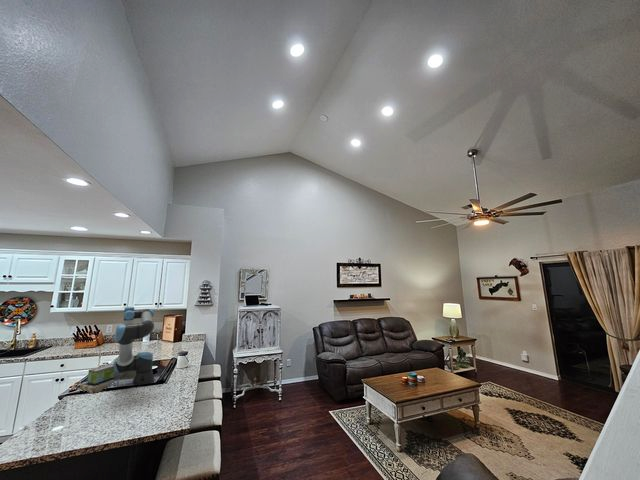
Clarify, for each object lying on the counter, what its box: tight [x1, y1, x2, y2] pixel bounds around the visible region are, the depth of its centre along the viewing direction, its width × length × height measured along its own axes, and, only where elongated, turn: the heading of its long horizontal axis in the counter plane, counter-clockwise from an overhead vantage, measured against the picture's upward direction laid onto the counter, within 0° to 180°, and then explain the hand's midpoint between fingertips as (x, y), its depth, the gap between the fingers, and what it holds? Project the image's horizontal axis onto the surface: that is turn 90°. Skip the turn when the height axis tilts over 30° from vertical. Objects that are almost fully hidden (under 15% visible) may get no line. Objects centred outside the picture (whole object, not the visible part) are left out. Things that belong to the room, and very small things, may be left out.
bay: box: [79, 382, 109, 394], centre depth 218 cm, size 18×10×4 cm, turn 67°
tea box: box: [86, 364, 116, 387], centre depth 225 cm, size 15×10×15 cm, turn 162°
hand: (126, 352), depth 243 cm, fingers closed
